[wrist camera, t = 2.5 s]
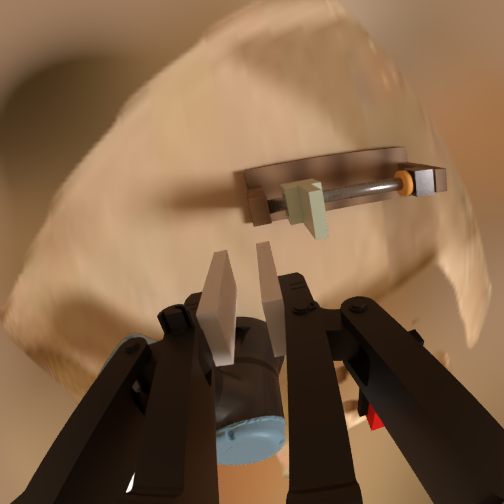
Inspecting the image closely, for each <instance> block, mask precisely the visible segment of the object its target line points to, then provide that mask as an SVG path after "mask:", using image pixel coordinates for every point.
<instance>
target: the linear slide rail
mask: <svg viewBox="0 0 504 504" xmlns="http://www.w3.org/2000/svg"><path fill="white" fill-rule="evenodd" d="M414 167H423V168H429V169H433V179H434V192H443V191H447V179H446V168H440V167H434V166H429V165H422V164H416V163H409V162H408V158H407V151H406V147H395V148H384V149H374V150H365V151H357V152H349V153H341V154H334V155H327V156H321V157H314V158H308V159H302V160H296V161H291V162H285V163H280V164H275V165H269V166H264V167H259V168H255V169H250V170H245V171H244V174H245V179H246V183H247V188H248V203H249V207H250V212H251V216H252V221H253V225H254V227H255V226H260V225H265V224H270V223H272V221H277V220H282V219H287V217H286V213H285V211H282V212H277V213H272V214H270V212H269V207H268V202H267V200H270V199H275V198H280V197H282V192H281V187H280V184H285V183H291V182H296V181H301V180H307V179H315V180H317V181H319V182H321V186H322V190H323V189H328V188H334V187H340V186H346V185H352V184H358V183H365V182H371V181H378V180H384V179H391V178H394V175H395V173H396V172H397V171H402V169H405V168H414ZM407 196H411V195H407ZM399 197H405V196H400V195H399V194H398V192H397V191H392V192H386V193H380V194H374V195H368V196H362V197H356V198H351V199H345V200H340V201H334V202H329V203H324V205H325V211H328V210H333V209H338V208H344V207H349V206H354V205H360V204H365V203H371V202H376V201H382V200H388V199H394V198H399Z"/></svg>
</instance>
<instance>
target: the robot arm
mask: <svg viewBox="0 0 504 504" xmlns="http://www.w3.org/2000/svg"><path fill="white" fill-rule="evenodd" d="M256 248H257V258H258V268H259V278H260V288H261V298H262V305H263V309H264V314H265V318H266V322H267V323H266V322H264V321H261V320H258V319H254V318H248V317H239V318H236V309H237V292H238V291H237V287H236V283H235V279H234V276H233V272H232V268H231V264H230V261H229V257H228V253H227V250H224V251H220V252H215V253H214V255H213V258H212V261H211V265H210V268H209V271H208V275H207V278H206V282H205V285H204V288H203V292H199V293H194V294H191V295H190V296H189V297H188V298H187V299H186V301H185V303H184V305H183V304H177V305H173V306H169V307H167V308H165V309H164V310H162V311H161V312H160V313H159V314H158V316H157V318H158V320H159V322H160V324H161V327H162V329H163V331H164V333H165V334H164V338H163V340H161V341H155V340H153V339H151V338H149V337H146V336H144V335H142V334H139V333H132V334H129V335H127V336H126V337H125V338H123V339H122V341H121V342H120V343H119V344H118V345H117V347H116V348H115V349H114V351H113V352H112V353H111V355H110V356H109V358H108V359H107V361H106V362H105V364H104V366H103V367H102V369H101V371H100V372H99V374H98V376H97V378H96V380H95V381H94V383H93V384H92V386H91V387H90V389H89V390H88V391H87V393H86V394H85V396H84V397H83V399H82V400H81V402H80V403H79V405H78V406H77V408H76V409H75V411H74V412H73V413H72V415H71V416H70V418H69V419H68V421H67V423H66V424H65V426H64V427H63V429H62V430H61V432H60V433H59V435H58V436H57V438H56V440H55V441H54V443H53V444H52V446H51V447H50V449H49V451H48V452H47V454H46V456H45V457H44V459H43V460H42V462H41V464H40V465H39V467H38V469H37V471H36V472H35V474H34V476H33V477H32V479H31V481H30V482H29V484H28V486H27V488H26V490H25V491H24V492H23V493H22V494H21V495H20V496H19V497H18V498H16V499H15V500H14V501H13V502H12V503H11V504H219V492H218V474H217V464H223V465H245V464H251V463H255V462H259V461H262V460H265V459H267V458H270V457H271V456H273V455H275V454H276V453H277V452H278V451H280V449H281V448H282V447H283V445H284V443H285V424H286V422H285V419H284V413H283V406H282V399H281V393H280V386H279V379H278V377H279V374H280V370H281V367H282V364H283V361H284V356H285V355H287V380H288V414H289V491H288V494H287V499H286V504H363V501H362V495H361V490H360V487H359V484H358V483H357V481H356V478H355V472H354V466H353V459H352V454H351V448H350V442H349V437H348V431H347V425H346V420H345V415H344V410H343V405H342V400H341V395H340V390H339V386H338V381H337V377H336V372H335V368H334V363H333V361H343V363H344V365H345V367H346V368H347V370H348V371H349V373H350V374H351V376H352V377H353V379H354V380H355V382H356V383H357V385H358V386H359V388H360V389H361V391H362V392H363V394H364V395H365V397H366V398H367V400H368V401H369V403H370V404H371V406H372V407H373V409H374V411H375V412H376V414H377V415H378V417H379V418H380V420H381V421H382V423H383V424H384V426H385V427H386V429H387V430H388V432H389V434H390V435H391V437H392V438H393V440H394V441H395V443H396V444H397V446H398V447H399V449H400V451H401V452H402V454H403V455H404V457H405V458H406V460H407V462H408V463H409V465H410V466H411V468H412V470H413V471H414V473H415V474H416V476H417V477H418V479H419V481H420V482H421V484H422V485H423V487H424V489H425V490H426V491H427V493H428V495H429V497H430V498H431V500H432V501H433V503H434V504H504V429H503V428H502V427H501V425H500V424H499V423H498V422H497V421H496V420H495V419H494V418H493V417H492V416H491V414H490V413H489V412H488V411H487V410H486V409H485V408H484V407H483V406H482V405H481V404H480V403H479V402H478V401H477V399H476V398H475V397H474V396H473V395H472V394H471V393H470V392H469V391H468V390H467V389H466V388H465V387H464V386H463V385H462V384H461V383H460V382H459V381H458V380H457V379H456V378H455V377H454V376H453V375H452V374H451V373H450V372H449V371H448V370H447V369H446V368H445V367H444V366H443V365H442V364H441V363H440V362H439V361H438V360H437V359H436V358H435V357H434V356H433V355H432V354H431V353H430V352H429V351H428V350H427V349H426V348H425V347H423V346H422V345H421V344H420V343H419V342H418V341H417V340H416V339H415V338H414V337H413V336H412V335H411V334H410V333H409V332H407V331H406V330H405V329H404V328H403V327H402V326H401V325H400V324H399V323H398V322H397V321H396V320H395V319H394V318H392V317H391V316H390V315H389V314H388V313H387V312H386V311H385V310H384V309H383V308H381V307H380V306H379V305H378V304H377V303H376V302H375V301H374V300H372V299H370V298H368V297H363V296H357V297H352V298H349V299H347V300H345V301H344V302H343V303H342V304H341V308H340V309H324V308H321V307H320V306H319V304H318V303H317V302H316V301H314V300H313V297H312V295H311V293H310V290H309V288H308V286H307V283H306V281H305V279H304V276H303V275H301V274H299V273H297V272H296V273H292V274H287V275H282V276H277V272H276V268H275V264H274V260H273V256H272V251H271V247H270V243H269V241H267V242H263V243H258V244H256Z"/></svg>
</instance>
